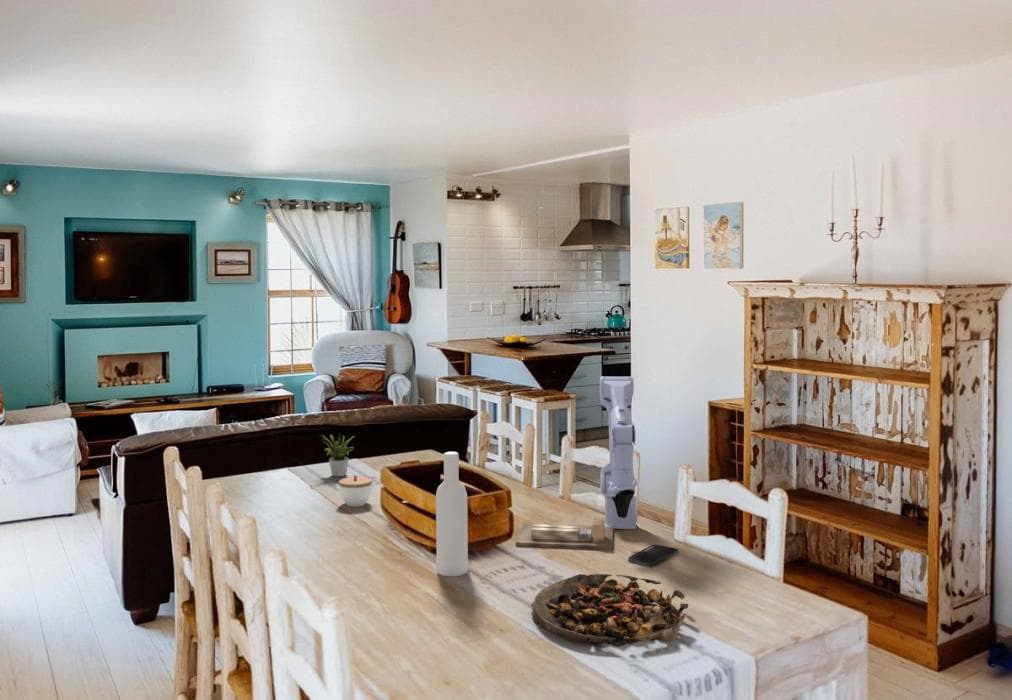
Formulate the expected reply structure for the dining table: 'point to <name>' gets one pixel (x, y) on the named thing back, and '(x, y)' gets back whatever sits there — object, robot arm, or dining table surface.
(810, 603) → the dining table surface
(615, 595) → the food dish
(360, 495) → the lidded jar
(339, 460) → the house plant
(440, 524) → the bottle
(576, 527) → the bar
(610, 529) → the tongs base
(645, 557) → the phone
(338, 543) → the dining table surface
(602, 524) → the brown rectangular block
